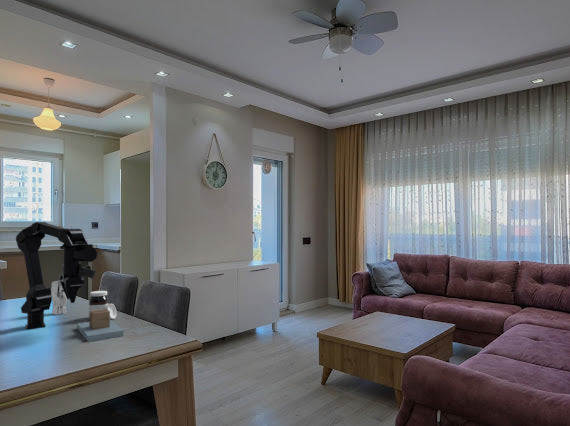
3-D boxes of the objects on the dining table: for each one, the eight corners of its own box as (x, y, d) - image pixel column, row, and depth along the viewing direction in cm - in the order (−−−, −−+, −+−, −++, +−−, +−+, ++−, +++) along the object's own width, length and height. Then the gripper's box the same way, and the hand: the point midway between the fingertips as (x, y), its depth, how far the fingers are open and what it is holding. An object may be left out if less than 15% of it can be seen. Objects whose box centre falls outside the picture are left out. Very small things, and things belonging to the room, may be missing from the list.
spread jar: (90, 316, 173) (90, 290, 173) (117, 314, 177) (117, 289, 178) (87, 322, 162) (87, 295, 162) (116, 320, 166) (116, 293, 166)
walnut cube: (89, 326, 148) (89, 310, 148) (106, 323, 152) (106, 308, 152) (92, 329, 143) (92, 313, 144) (109, 327, 147) (109, 311, 147)
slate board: (77, 328, 153) (77, 323, 153) (109, 323, 160) (109, 318, 160) (87, 341, 135) (87, 336, 135) (123, 335, 142) (123, 330, 143)
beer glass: (71, 312, 180) (71, 281, 181) (55, 315, 175) (56, 282, 175) (63, 311, 184) (63, 279, 185) (47, 314, 178) (48, 281, 179)
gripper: (99, 261, 147) (98, 302, 146) (89, 258, 162) (88, 295, 161) (66, 263, 140) (65, 306, 140) (59, 259, 155) (58, 298, 155)
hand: (70, 300), depth 149 cm, fingers open, 9 cm apart
